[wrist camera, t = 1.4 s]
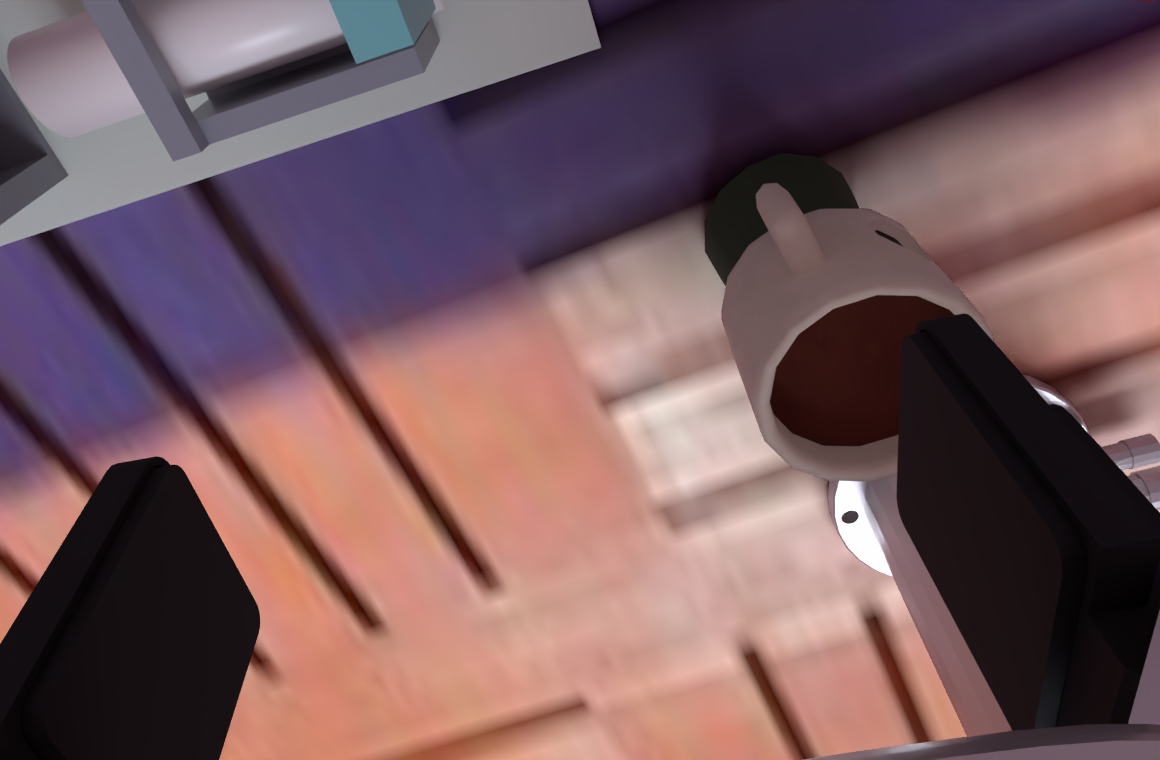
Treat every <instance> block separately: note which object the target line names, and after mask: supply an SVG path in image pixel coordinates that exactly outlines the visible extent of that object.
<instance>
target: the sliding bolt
mask: <svg viewBox="0 0 1160 760" xmlns="http://www.w3.org/2000/svg"><path fill="white" fill-rule="evenodd" d="M131 1H132V2H133V4H134V6H135V8H136V10H137V12H138V14H139V15H140V17H141V19H142V21H143V23H144V25H145V26H146V28H147V30H148V32H149V34H150V36H151V38H152V39H153V41H154V43H155V45H156V47H157V49H158V50H159V52H160V54H161V56H162V58H163V60H164V62H165V63H166V65H167V67H168V69H169V71H170V73H171V74H172V76H173V78H174V80H175V82H176V84H177V86H178V87H179V89H180V91H181V93H182V95H183V97H184V98H185V99H187V98H190V97H192V96H195V95H198V94H201V93H204V92H207V91H210V90H213V89H216V88H219V87H221V86H224V85H227V84H230V83H233V82H236V81H239V80H242V79H245V78H248V77H251V76H253V75H256V74H259V73H262V72H265V71H268V70H271V69H274V68H277V67H280V66H282V65H285V64H288V63H291V62H294V61H297V60H300V59H303V58H306V57H309V56H312V55H314V54H317V53H320V52H323V51H326V50H329V49H332V48H335V47H338V46H341V45H343V44H346V43H348V46H349V48H350V50H351V53H352V55H353V57H354V60H355V62H356V64H358V63H361V62H363V61H366V60H369V59H372V58H375V57H378V56H381V55H384V54H387V53H390V52H393V51H396V50H399V49H402V48H405V47H408V46H410V45H413V44H414V43H415V42H416V40H417V39H418V37H419V35H420V34H421V32H422V30H423V29H424V27H425V25H426V24H427V22H428V21H429V19H430V17H431V16H432V14H434V13H436V12H439V11H442V10H444V9H445V0H131ZM7 61H8V67H9V71H10V74H11V77H12V80H13V83H14V85H15V87H16V89H17V91H18V93H19V95H20V96H21V98H22V100H23V101H24V103H25V104H26V106H27V107H28V108H29V110H30V111H31V112H32V114H33V115H34V116H35V117H36V118H37V119H38V120H39V121H40V122H41V123H42V124H43V125H44V126H46V127H47V128H48V129H50V130H51V131H53V132H54V133H56V134H58V135H60V136H63V137H69V138H72V137H76V136H79V135H82V134H85V133H88V132H91V131H94V130H97V129H99V128H102V127H105V126H108V125H111V124H114V123H117V122H120V121H123V120H126V119H129V118H131V117H134V116H137V115H140V114H143V113H145V111H144V110H143V108H142V106H141V104H140V103H139V101H138V99H137V97H136V96H135V94H134V92H133V90H132V88H131V87H130V85H129V83H128V81H127V80H126V78H125V76H124V74H123V73H122V71H121V69H120V67H119V66H118V64H117V62H116V60H115V59H114V57H113V55H112V53H111V52H110V50H109V48H108V46H107V45H106V43H105V41H104V39H103V38H102V36H101V34H100V32H99V31H98V29H97V27H96V25H95V24H94V22H93V20H92V18H91V17H90V15H89V13H88V11H84V12H82V13H79V14H76V15H73V16H71V17H68V18H65V19H62V20H60V21H57V22H54V23H51V24H49V25H46V26H43V27H40V28H38V29H35V30H32V31H30V32H27V33H24V34H21V35H19V36H16V37H14V38H13V39H12V40H11V41H10V43H9V46H8V50H7Z"/></svg>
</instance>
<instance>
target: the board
mask: <svg viewBox="0 0 1160 760" xmlns="http://www.w3.org/2000/svg"><path fill="white" fill-rule="evenodd" d="M84 11H87V10H86V8H85V6H84V4H83V2H82V1H81V0H0V69H1V70H2V72H3V73H4V75H5V77H6V78H7V80H8V81H9V83H10V84H11V86H12V88H13V89H14V91H15V92H16V94H17V95H18V97H19V98H20V100H21V102H22V103H23V105H24V106H25V108H26V109H27V111H28V113H29V114H30V116H31V117H32V119H33V120H34V122H35V123H36V125H37V127H38V128H39V130H40V131H41V133H42V134H43V136H44V137H45V139H46V141H47V142H48V144H49V145H50V147H51V148H52V150H53V152H54V153H55V155H56V156H57V158H58V159H59V161H60V162H61V164H62V166H63V167H64V169H65V170H66V172H67V173H68V175H69V176H67V177H66V178H65V179H63V180H62V181H60V182H59V183H58V184H56V185H55V186H54V187H52V188H51V189H49V190H48V191H47V192H45V193H44V194H43V195H41V196H40V197H38V198H37V199H36V200H34V201H33V202H31V203H30V204H29V205H27V206H26V207H25V208H23V209H22V210H20V211H19V212H18V213H16V214H15V215H14V216H12V217H11V218H9V219H8V220H7V221H5V222H4V223H3V224H1V225H0V246H2V245H5V244H8V243H11V242H14V241H17V240H20V239H23V238H26V237H29V236H32V235H35V234H38V233H41V232H44V231H47V230H50V229H53V228H57V227H60V226H63V225H66V224H69V223H72V222H75V221H78V220H81V219H84V218H87V217H90V216H93V215H96V214H99V213H102V212H105V211H108V210H111V209H114V208H117V207H120V206H123V205H126V204H129V203H132V202H135V201H138V200H141V199H144V198H147V197H150V196H153V195H156V194H159V193H162V192H166V191H169V190H172V189H175V188H178V187H181V186H184V185H187V184H190V183H193V182H196V181H199V180H202V179H205V178H208V177H211V176H214V175H217V174H220V173H223V172H226V171H229V170H232V169H235V168H238V167H241V166H244V165H247V164H250V163H253V162H256V161H259V160H262V159H265V158H268V157H271V156H275V155H278V154H281V153H284V152H287V151H290V150H293V149H296V148H299V147H302V146H305V145H308V144H311V143H314V142H317V141H320V140H323V139H326V138H329V137H332V136H335V135H338V134H341V133H344V132H347V131H350V130H353V129H356V128H359V127H362V126H365V125H368V124H371V123H374V122H377V121H380V120H384V119H387V118H390V117H393V116H396V115H399V114H402V113H405V112H408V111H411V110H414V109H417V108H420V107H423V106H426V105H429V104H432V103H435V102H438V101H441V100H444V99H447V98H450V97H453V96H456V95H459V94H462V93H465V92H468V91H471V90H474V89H477V88H480V87H483V86H486V85H490V84H493V83H496V82H499V81H502V80H505V79H508V78H511V77H514V76H517V75H520V74H523V73H526V72H529V71H532V70H535V69H538V68H541V67H544V66H547V65H550V64H553V63H556V62H559V61H562V60H565V59H568V58H571V57H574V56H577V55H580V54H583V53H586V52H589V51H592V50H595V49H599V48H601V45H600V41H599V38H598V34H597V31H596V27H595V24H594V20H593V17H592V13H591V9H590V6H589V2H588V0H445V9H444V10H442V11H439V12H436V13H434V14H432V16H431V17H432V20H433V22H434V25H435V28H436V30H437V33H438V36H439V38H440V42H439V44H438V46H437V48H436V50H435V52H434V54H433V56H432V58H431V60H430V62H429V64H428V66H427V68H426V70H425V72H424V73H422V74H419V75H416V76H413V77H410V78H407V79H404V80H401V81H398V82H395V83H392V84H389V85H386V86H383V87H380V88H377V89H374V90H371V91H368V92H365V93H362V94H359V95H356V96H353V97H350V98H347V99H344V100H341V101H338V102H335V103H332V104H329V105H326V106H323V107H320V108H317V109H314V110H311V111H308V112H305V113H302V114H299V115H296V116H293V117H290V118H287V119H284V120H282V121H279V122H276V123H273V124H270V125H267V126H264V127H261V128H258V129H255V130H252V131H249V132H246V133H243V134H240V135H237V136H234V137H231V138H228V139H225V140H222V141H219V142H216V143H213V144H210V145H209V146H208V147H206V148H205V149H204V150H203V151H202V152H201V153H198V154H195V155H192V156H189V157H186V158H183V159H180V160H177V161H174V162H173V160H172V159H171V157H170V155H169V153H168V152H167V150H166V148H165V146H164V145H163V143H162V141H161V139H160V138H159V136H158V134H157V132H156V131H155V129H154V127H153V125H152V124H151V122H150V120H149V118H148V117H147V115H146V113H143V114H140V115H137V116H134V117H131V118H129V119H126V120H123V121H120V122H117V123H114V124H111V125H108V126H105V127H102V128H99V129H97V130H94V131H91V132H88V133H85V134H82V135H79V136H76V137H72V138H69V137H63V136H60V135H58V134H56V133H54V132H53V131H51V130H50V129H48V128H47V127H46V126H44V125H43V124H42V123H41V122H40V121H39V120H38V119H37V118H36V117H35V116H34V115H33V114H32V112H31V111H30V110H29V108H28V107H27V106H26V104H25V103H24V101H23V100H22V98H21V96H20V95H19V93H18V91H17V89H16V87H15V85H14V83H13V80H12V77H11V74H10V71H9V67H8V61H7V50H8V46H9V43H10V41H11V40H12V39H13V38H14V37H16V36H19V35H21V34H24V33H27V32H30V31H32V30H35V29H38V28H40V27H43V26H46V25H49V24H51V23H54V22H57V21H60V20H62V19H65V18H68V17H71V16H73V15H76V14H79V13H82V12H84ZM208 99H209V98H208V96H207V94H206V92H204V93H201V94H198V95H195V96H192V97H190V98H187V99H185V100H186V102H187V104H188V106H189V108H190V110H191V111H192V112H193V111H194V110H195V109H197V108H198V107H199V106H200V105H202V104H203V103H204V102H205V101H207V100H208Z"/></svg>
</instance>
